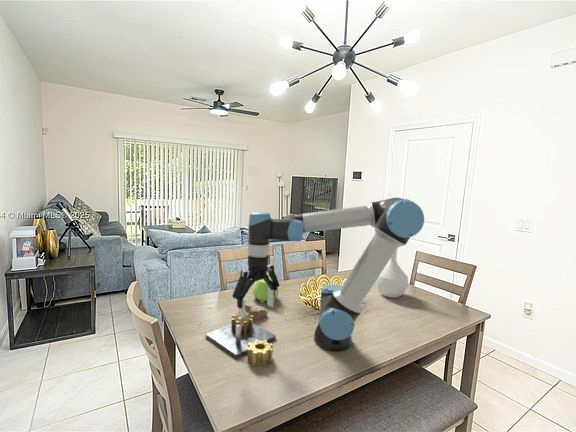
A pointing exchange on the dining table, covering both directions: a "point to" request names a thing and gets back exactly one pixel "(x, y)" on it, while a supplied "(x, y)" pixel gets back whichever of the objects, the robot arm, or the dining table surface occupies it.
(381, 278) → the vase
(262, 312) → the stone
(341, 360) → the dining table surface
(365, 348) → the dining table surface
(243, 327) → the plate
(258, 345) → the planet gear
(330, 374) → the dining table surface
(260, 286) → the teapot
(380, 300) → the dining table surface
